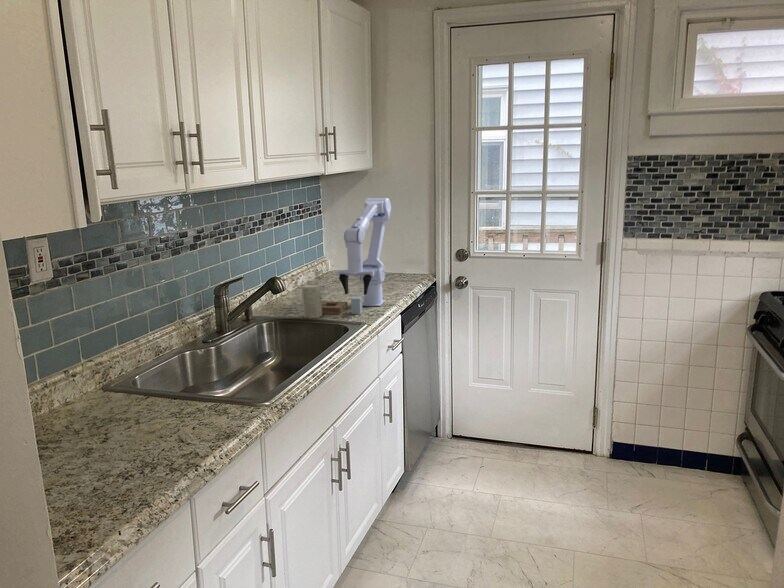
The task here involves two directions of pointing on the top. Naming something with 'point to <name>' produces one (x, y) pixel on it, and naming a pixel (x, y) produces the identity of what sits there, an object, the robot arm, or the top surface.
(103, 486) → the top surface
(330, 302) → the walnut socket block
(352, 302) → the peg
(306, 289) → the skincare box
